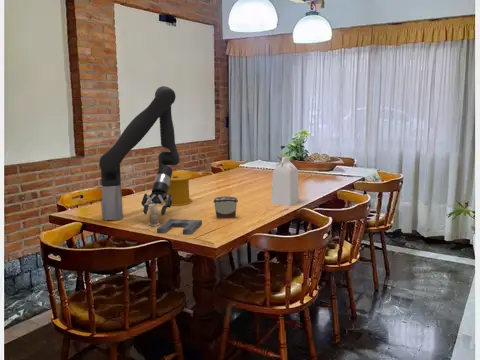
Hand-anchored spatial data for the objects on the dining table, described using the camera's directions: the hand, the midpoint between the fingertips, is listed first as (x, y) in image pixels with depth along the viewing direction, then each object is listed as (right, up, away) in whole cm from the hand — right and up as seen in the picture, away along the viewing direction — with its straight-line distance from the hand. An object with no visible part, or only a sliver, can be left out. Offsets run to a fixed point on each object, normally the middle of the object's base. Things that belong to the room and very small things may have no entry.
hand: (153, 213), depth 208 cm
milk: (+66, +3, +43) cm, 79 cm away
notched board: (+13, -6, -5) cm, 15 cm away
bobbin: (0, -6, +1) cm, 6 cm away
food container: (+34, -3, +14) cm, 37 cm away
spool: (+4, +3, +48) cm, 48 cm away
